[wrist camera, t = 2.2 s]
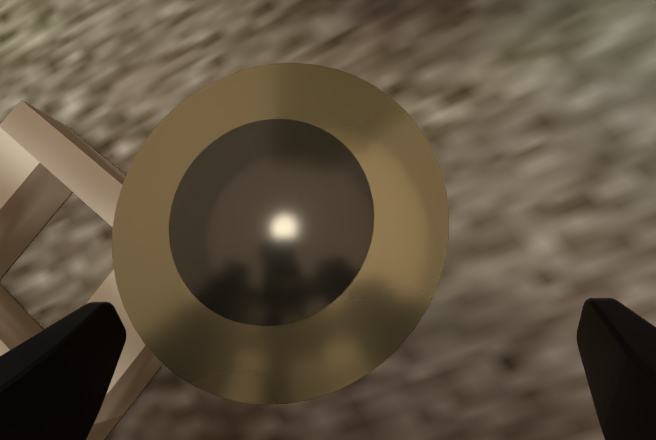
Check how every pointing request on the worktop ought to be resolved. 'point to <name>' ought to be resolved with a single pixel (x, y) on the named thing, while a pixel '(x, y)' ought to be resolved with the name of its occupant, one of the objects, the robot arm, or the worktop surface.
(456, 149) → the worktop surface
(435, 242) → the cylinder
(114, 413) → the jig plate
